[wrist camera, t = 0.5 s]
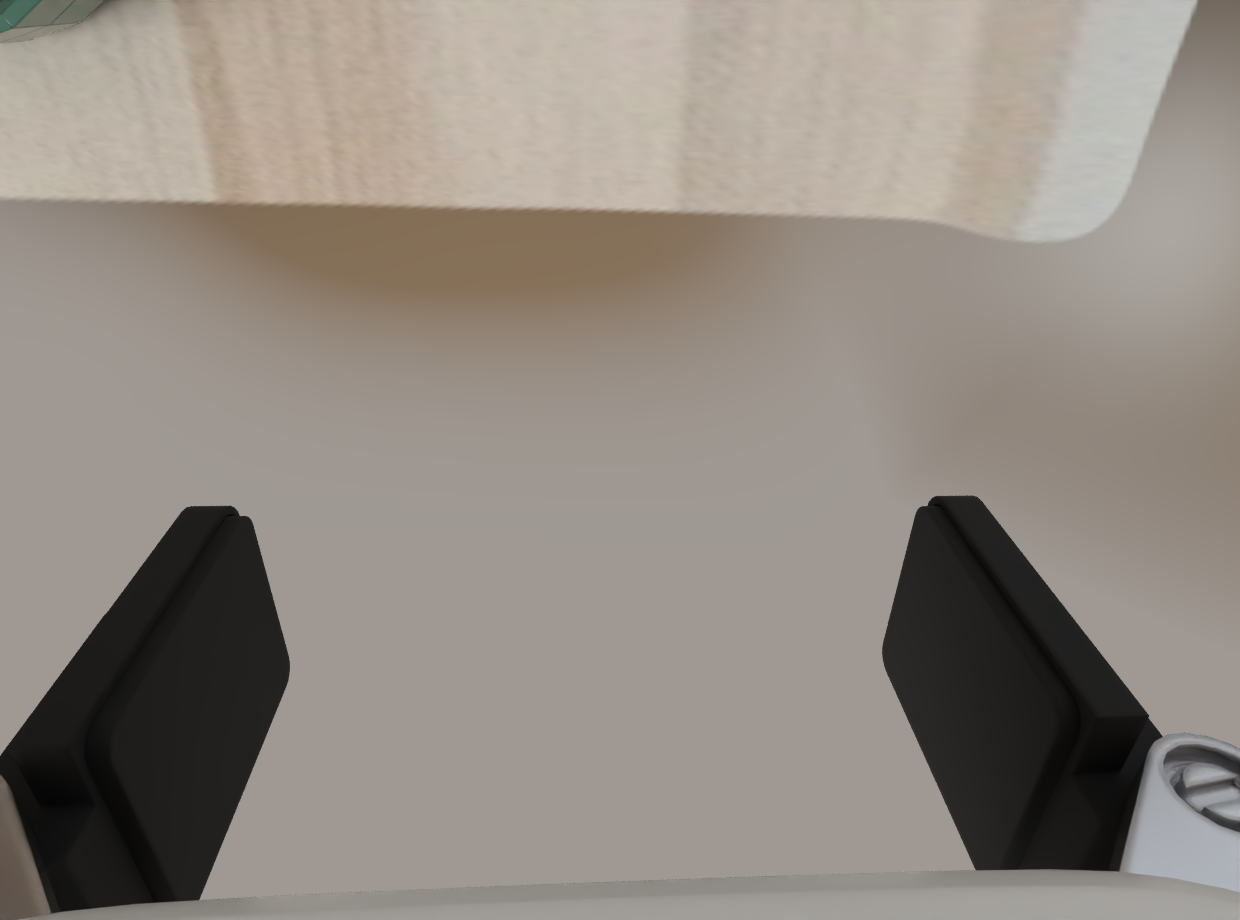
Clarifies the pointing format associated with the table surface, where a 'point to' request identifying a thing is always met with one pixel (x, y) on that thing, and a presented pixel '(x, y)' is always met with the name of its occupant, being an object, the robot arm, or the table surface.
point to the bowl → (40, 17)
